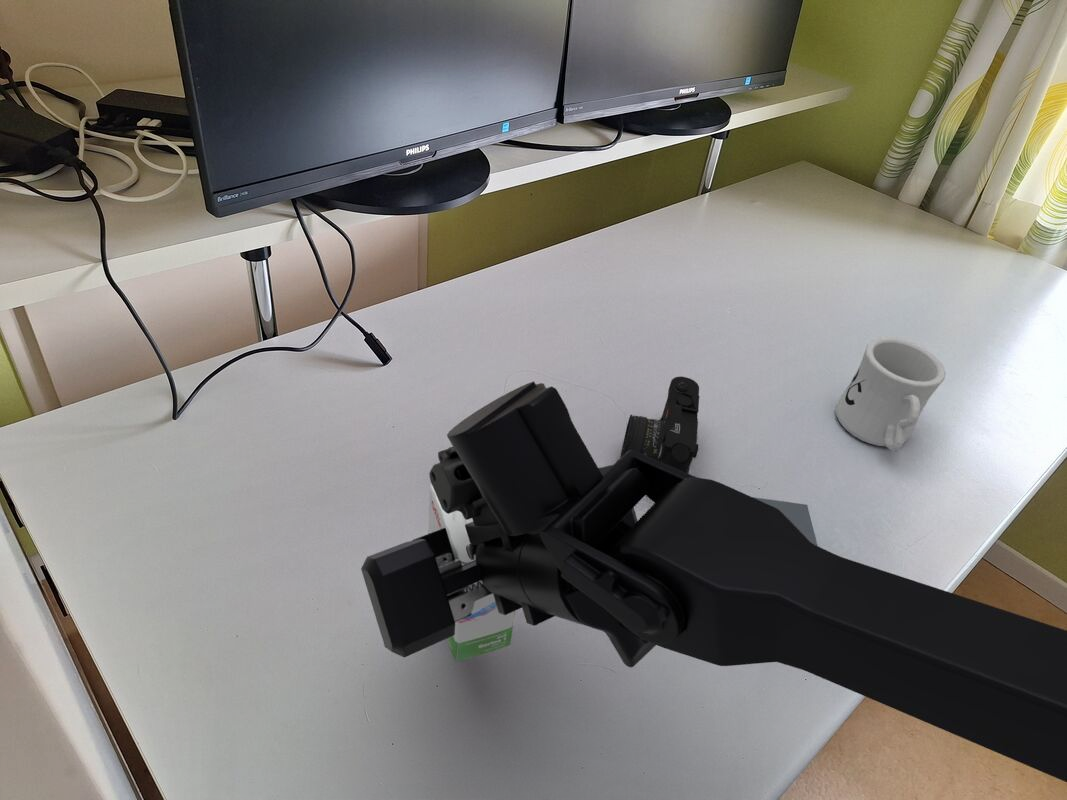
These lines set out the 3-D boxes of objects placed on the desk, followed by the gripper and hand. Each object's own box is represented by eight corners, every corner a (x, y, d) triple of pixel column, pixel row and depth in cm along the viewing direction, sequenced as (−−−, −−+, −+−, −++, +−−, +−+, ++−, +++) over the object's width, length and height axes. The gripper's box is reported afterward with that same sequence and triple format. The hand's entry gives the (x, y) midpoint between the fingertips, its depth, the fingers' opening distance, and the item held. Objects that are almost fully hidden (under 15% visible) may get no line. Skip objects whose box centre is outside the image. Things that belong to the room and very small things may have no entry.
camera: (628, 410, 90) (642, 357, 85) (688, 423, 89) (706, 371, 84) (612, 497, 79) (628, 443, 74) (681, 513, 79) (701, 459, 73)
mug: (827, 393, 97) (858, 330, 90) (897, 405, 97) (934, 342, 90) (846, 462, 87) (882, 397, 81) (925, 475, 87) (967, 411, 81)
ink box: (512, 646, 59) (529, 552, 52) (453, 664, 57) (461, 569, 50) (479, 563, 65) (489, 468, 57) (423, 576, 63) (427, 480, 56)
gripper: (651, 387, 47) (540, 410, 61) (367, 481, 39) (313, 483, 53) (701, 557, 48) (579, 541, 62) (429, 686, 39) (359, 635, 53)
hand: (465, 546), depth 57 cm, fingers closed on ink box, 5 cm apart
